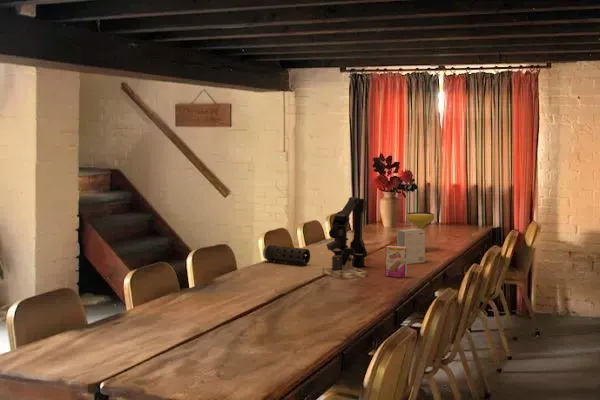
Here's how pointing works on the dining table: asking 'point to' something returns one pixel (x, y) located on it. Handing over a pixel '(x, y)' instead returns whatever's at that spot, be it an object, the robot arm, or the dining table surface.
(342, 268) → the camera
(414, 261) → the hard drive box
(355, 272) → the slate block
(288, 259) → the muzzle brake
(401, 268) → the candy bar box
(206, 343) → the dining table surface
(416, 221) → the cocktail glass
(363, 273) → the slot rack
